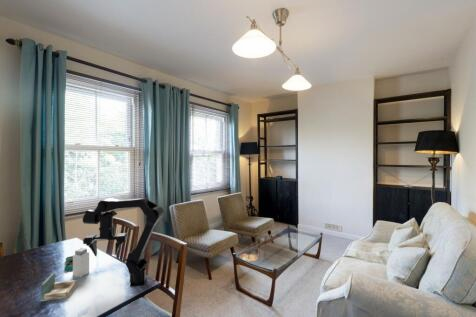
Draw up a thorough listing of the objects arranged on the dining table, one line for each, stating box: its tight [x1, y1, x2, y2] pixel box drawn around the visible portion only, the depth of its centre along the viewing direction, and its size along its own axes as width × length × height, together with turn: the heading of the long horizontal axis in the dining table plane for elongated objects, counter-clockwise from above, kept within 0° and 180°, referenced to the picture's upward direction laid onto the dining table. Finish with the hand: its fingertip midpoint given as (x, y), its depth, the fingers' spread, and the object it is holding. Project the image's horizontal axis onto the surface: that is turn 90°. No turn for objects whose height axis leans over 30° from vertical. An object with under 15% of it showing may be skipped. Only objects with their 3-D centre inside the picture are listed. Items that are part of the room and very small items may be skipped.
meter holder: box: [40, 272, 78, 302], centre depth 106 cm, size 10×10×7 cm
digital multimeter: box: [64, 255, 73, 272], centre depth 132 cm, size 7×15×3 cm, turn 34°
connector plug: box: [72, 247, 90, 278], centre depth 122 cm, size 5×5×13 cm
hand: (106, 255), depth 116 cm, fingers open, 9 cm apart
